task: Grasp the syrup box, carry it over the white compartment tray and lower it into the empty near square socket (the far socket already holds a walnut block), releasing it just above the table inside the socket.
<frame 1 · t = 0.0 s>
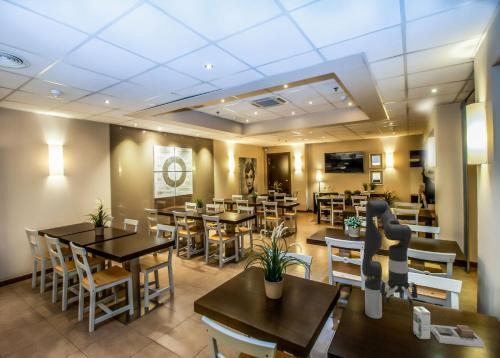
hand: (398, 305, 112), 29 cm above the table, fingers open, 8 cm apart
white compartment tray: (455, 338, 133), on the table
walnut block: (465, 339, 132), resting in white compartment tray
syrup box: (421, 336, 136), on the table
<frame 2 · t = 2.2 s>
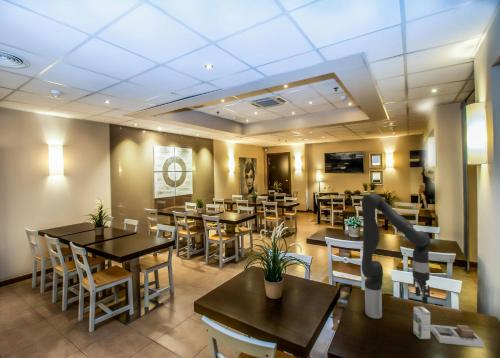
hand: (421, 299, 135), 20 cm above the table, fingers open, 8 cm apart
nothing on the table moved.
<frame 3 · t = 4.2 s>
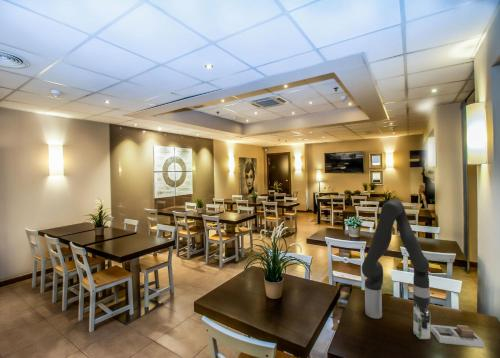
hand: (421, 324, 135), 6 cm above the table, fingers closed on syrup box, 6 cm apart
syrup box: (421, 336, 136), on the table, touching gripper
everything else where it was.
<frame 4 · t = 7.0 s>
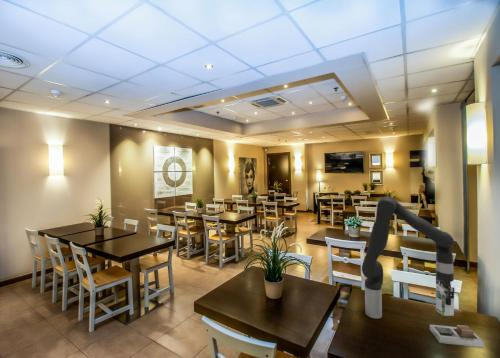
hand: (444, 301, 134), 19 cm above the table, fingers closed on syrup box, 6 cm apart
syrup box: (444, 313, 134), point 13 cm above the table, touching gripper
everything else where it was.
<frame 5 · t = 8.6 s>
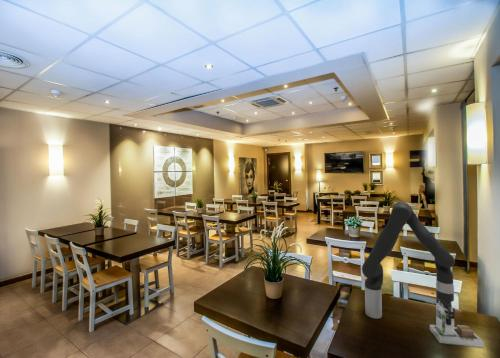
hand: (445, 320, 134), 9 cm above the table, fingers closed on syrup box, 6 cm apart
syrup box: (445, 332, 134), point 3 cm above the table, touching gripper
everything else where it was.
when the fingers open (8 cm above the table, at t = 9.9 s): syrup box drops 1 cm, resting in white compartment tray.
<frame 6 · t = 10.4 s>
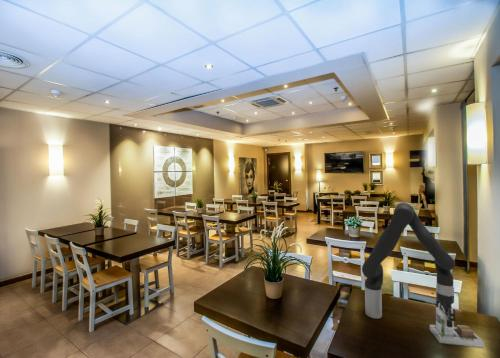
hand: (445, 322, 134), 8 cm above the table, fingers open, 8 cm apart
syrup box: (444, 337, 134), resting in white compartment tray
everything else where it was.
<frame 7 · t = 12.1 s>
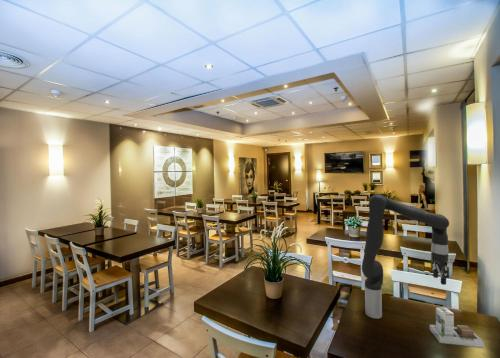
hand: (439, 280, 138), 28 cm above the table, fingers open, 8 cm apart
nothing on the table moved.
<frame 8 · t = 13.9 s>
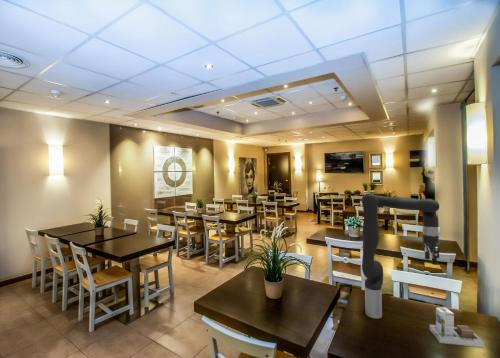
hand: (430, 261, 145), 36 cm above the table, fingers open, 8 cm apart
nothing on the table moved.
at the end: syrup box 0.4 cm from the target spot on the white compartment tray, point 0.0 cm above the white compartment tray's base; syrup box tilted 0°; the gripper is holding nothing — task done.
